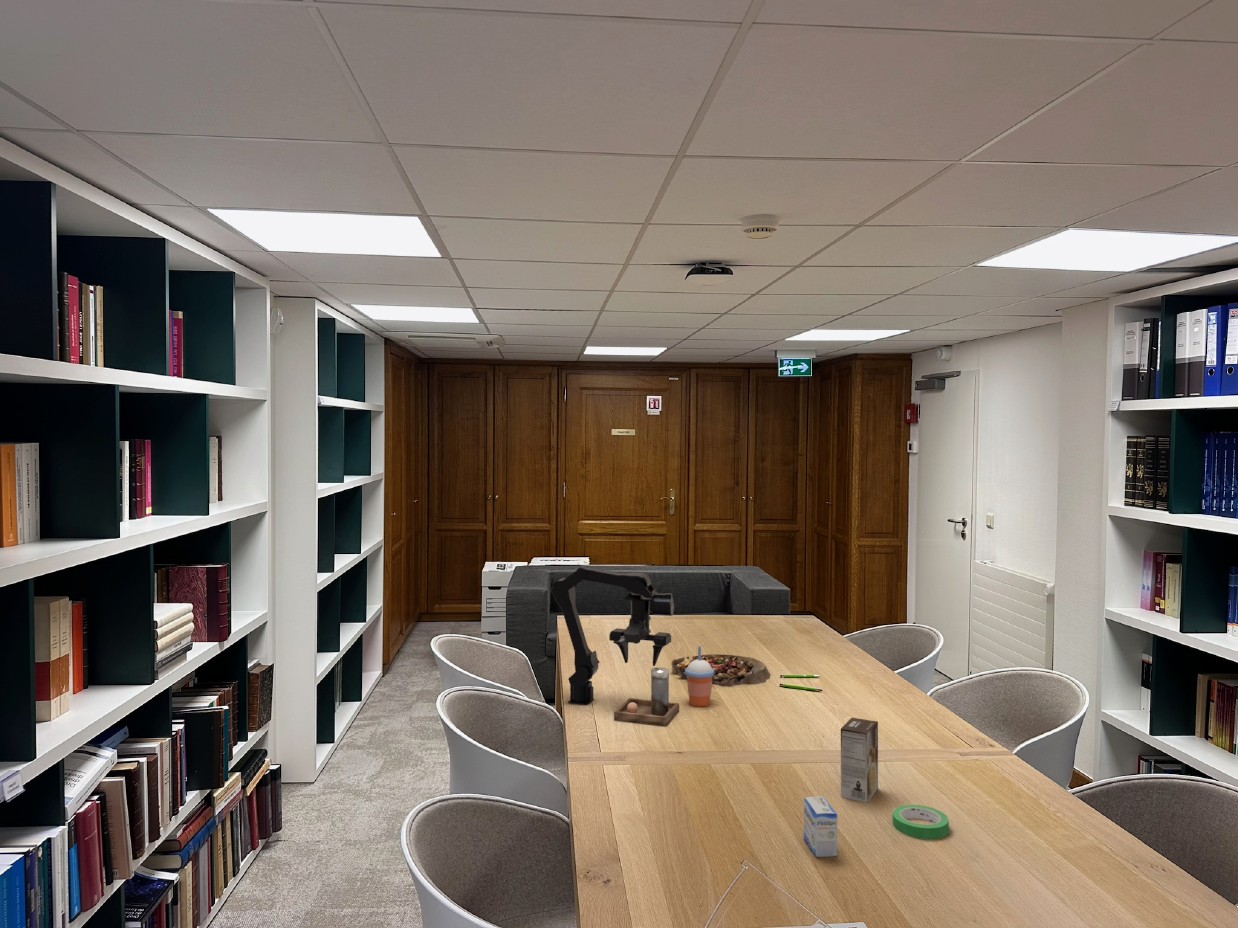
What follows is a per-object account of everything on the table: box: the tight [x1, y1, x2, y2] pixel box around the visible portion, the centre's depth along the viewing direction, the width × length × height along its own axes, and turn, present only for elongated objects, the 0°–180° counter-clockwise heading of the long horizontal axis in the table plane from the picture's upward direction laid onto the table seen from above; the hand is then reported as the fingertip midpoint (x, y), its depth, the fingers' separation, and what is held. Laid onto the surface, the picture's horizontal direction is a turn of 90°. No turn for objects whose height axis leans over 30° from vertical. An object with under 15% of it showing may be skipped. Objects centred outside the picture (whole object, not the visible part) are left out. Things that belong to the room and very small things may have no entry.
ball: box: [627, 702, 638, 713], centre depth 241 cm, size 3×3×3 cm
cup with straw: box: [685, 645, 714, 707], centre depth 253 cm, size 9×9×18 cm
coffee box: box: [840, 717, 879, 804], centre depth 187 cm, size 9×6×16 cm
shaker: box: [650, 666, 670, 716], centre depth 241 cm, size 5×5×13 cm
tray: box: [613, 697, 680, 727], centre depth 242 cm, size 16×14×2 cm
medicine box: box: [803, 796, 838, 858], centre depth 162 cm, size 8×4×9 cm, turn 5°
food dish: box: [671, 653, 772, 687], centre depth 287 cm, size 35×33×8 cm
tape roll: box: [892, 804, 950, 840], centre depth 171 cm, size 11×11×3 cm
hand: (640, 664), depth 251 cm, fingers open, 9 cm apart
